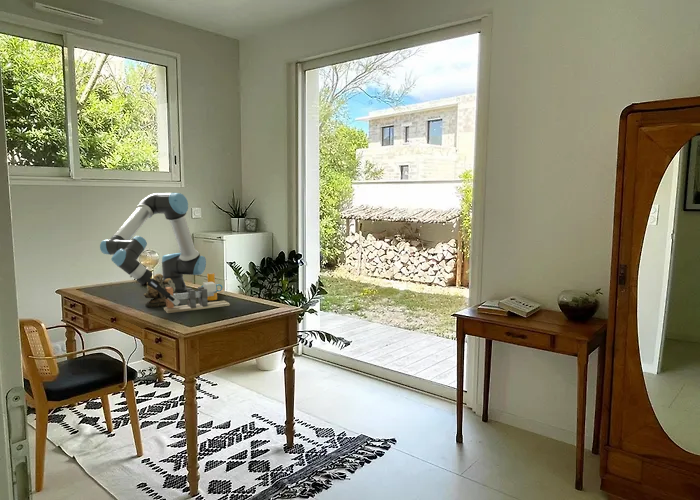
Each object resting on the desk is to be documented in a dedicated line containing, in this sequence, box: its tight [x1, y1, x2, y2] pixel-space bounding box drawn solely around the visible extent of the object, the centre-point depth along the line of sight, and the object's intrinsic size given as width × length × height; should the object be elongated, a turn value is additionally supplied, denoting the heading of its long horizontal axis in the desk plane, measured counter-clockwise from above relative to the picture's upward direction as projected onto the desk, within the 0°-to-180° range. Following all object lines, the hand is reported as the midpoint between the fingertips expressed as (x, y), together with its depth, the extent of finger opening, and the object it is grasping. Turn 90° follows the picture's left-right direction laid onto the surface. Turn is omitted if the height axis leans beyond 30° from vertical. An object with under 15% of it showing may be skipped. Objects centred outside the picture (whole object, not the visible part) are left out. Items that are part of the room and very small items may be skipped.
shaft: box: [165, 287, 214, 308], centre depth 251 cm, size 4×24×10 cm, turn 122°
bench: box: [163, 286, 231, 314], centre depth 253 cm, size 9×32×10 cm, turn 122°
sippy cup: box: [200, 272, 223, 302], centre depth 272 cm, size 12×10×15 cm
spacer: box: [202, 281, 217, 292], centre depth 256 cm, size 7×5×4 cm
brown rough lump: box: [143, 273, 176, 309], centre depth 259 cm, size 18×12×17 cm, turn 134°
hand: (177, 302), depth 248 cm, fingers closed on shaft, 4 cm apart
